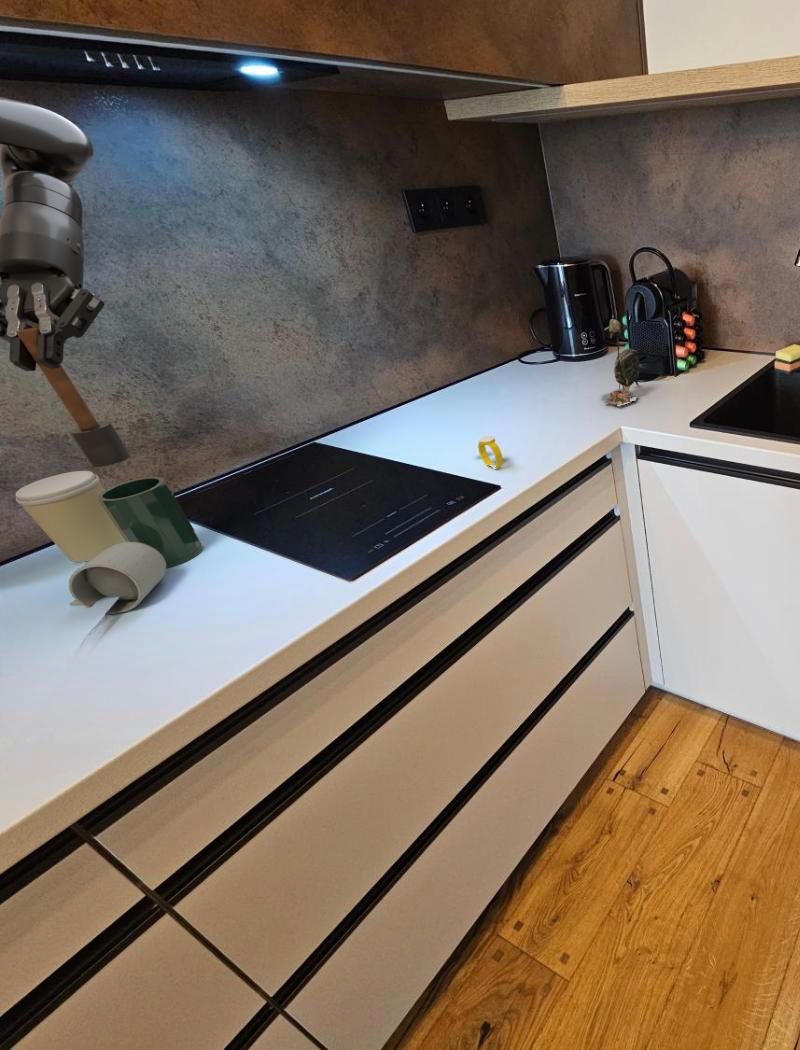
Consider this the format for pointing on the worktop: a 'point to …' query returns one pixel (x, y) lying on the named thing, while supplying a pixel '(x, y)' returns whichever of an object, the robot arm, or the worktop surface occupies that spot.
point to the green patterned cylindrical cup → (152, 518)
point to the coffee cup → (71, 513)
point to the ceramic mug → (118, 576)
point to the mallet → (80, 413)
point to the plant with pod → (623, 368)
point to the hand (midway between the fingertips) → (36, 366)
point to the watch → (491, 443)
